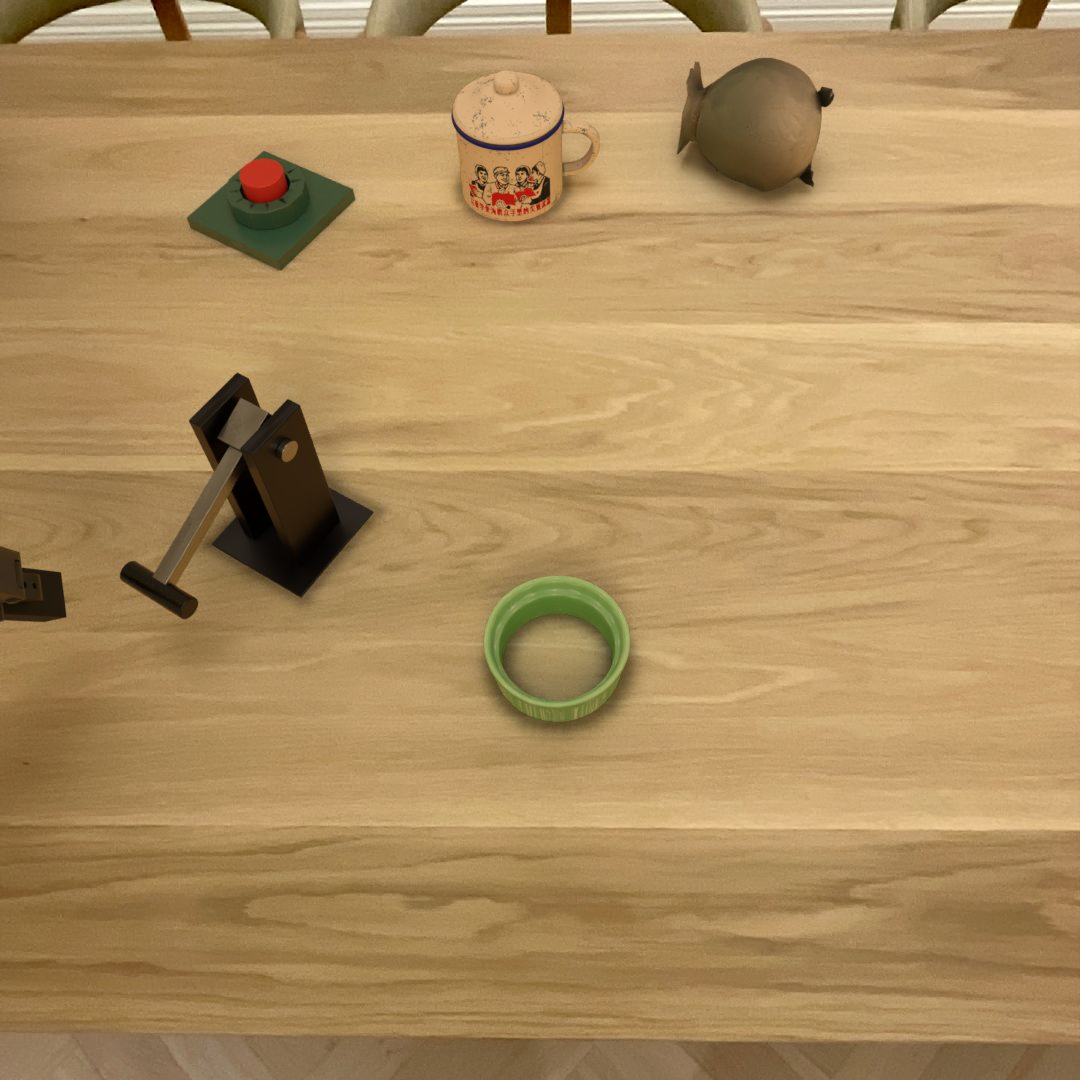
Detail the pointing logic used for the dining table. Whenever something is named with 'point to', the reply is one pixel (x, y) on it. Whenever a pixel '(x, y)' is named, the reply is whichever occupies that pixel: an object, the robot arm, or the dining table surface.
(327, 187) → the button box
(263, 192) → the button
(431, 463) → the dining table surface
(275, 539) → the bracket
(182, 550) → the lever
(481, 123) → the teacup with lid
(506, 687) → the ramekin
